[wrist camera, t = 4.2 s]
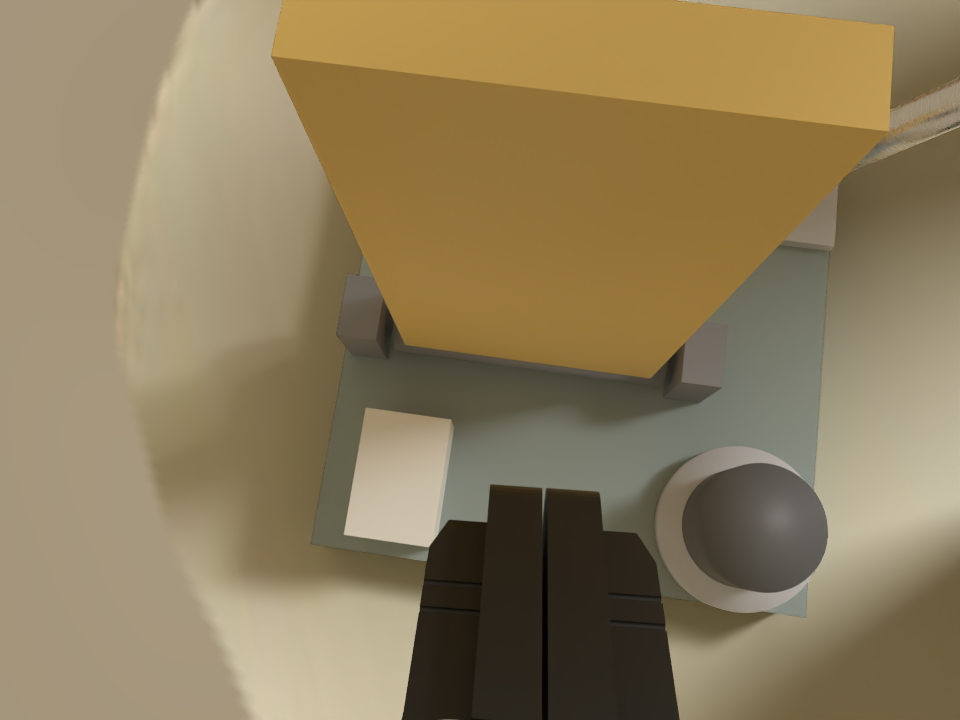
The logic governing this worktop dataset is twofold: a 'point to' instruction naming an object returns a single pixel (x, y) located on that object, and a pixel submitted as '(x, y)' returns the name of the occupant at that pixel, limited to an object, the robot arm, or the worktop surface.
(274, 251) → the worktop surface
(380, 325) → the panel
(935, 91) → the toggle
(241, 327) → the worktop surface
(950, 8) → the worktop surface
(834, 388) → the worktop surface
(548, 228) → the upright ochre plank
